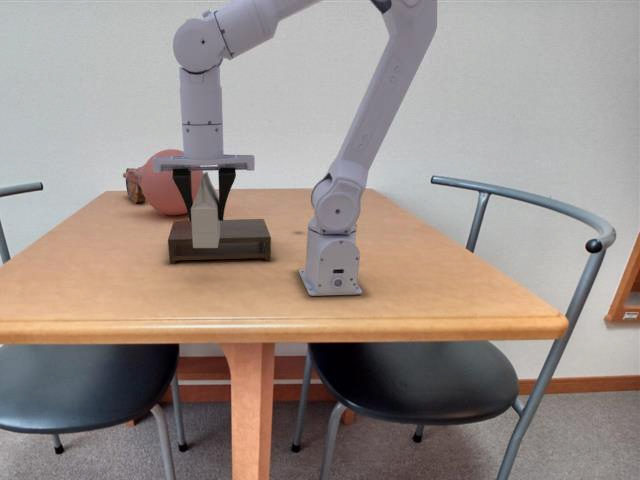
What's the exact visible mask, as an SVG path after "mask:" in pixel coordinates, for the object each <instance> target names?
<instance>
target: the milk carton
mask: <svg viewBox="0 0 640 480" xmlns="http://www.w3.org/2000/svg"><path fill="white" fill-rule="evenodd" d="M208 172H209V171H204V172H203V173H204V175H203V177H202V178H201V181H200V186H199V190H198V193H197V195H196V198H195V200H194V203H193V205H192V207H191V220H192V238H193V248H218V244H219V239H220V221H219V213H218V211H219V194H218V193H217V191H216V189H215V187H214V185H213V183H212V180H211V179H210V175H209V173H208Z"/></svg>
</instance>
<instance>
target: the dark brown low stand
mask: <svg viewBox="0 0 640 480" xmlns="http://www.w3.org/2000/svg"><path fill="white" fill-rule="evenodd" d="M168 234H169V235H168V237H167V247H168V259H169V264H171V265H172V264H176V262H177V261H194V260H195V261H198V260H199V261H201V260H204V261H205V260H234V259H235V260H236V259H237V260H239V259H242V260H243V259H263V260H264V262H270V261H271V254H272V253H271V252H272V249H271V248H272V237H271V233H270V231H269V228H268V226H267V223H266V220H265V219H264V218H242V219H241V218H239V219H238V218H237V219H236V218H235V219H223V221H220V239H219V244H218V248H193V238H192V221H191V222H190V221H189V220H173V222H172V225H171V227H170V232H169V233H168Z"/></svg>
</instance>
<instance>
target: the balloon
mask: <svg viewBox="0 0 640 480" xmlns="http://www.w3.org/2000/svg"><path fill="white" fill-rule="evenodd" d="M181 155H184V150H180V149H175V148H174V149H173V148H170V149H169V148H168V149H164V150H160V151H158V152H156V153H154V154H153V155H152V156H150V158H149V159H148V160H147V161H146V162H145V163H144V164H143V165H142V166H138V167H137V168H135V169H136V170H135V171H134V170H129V171H128V172H126V171H125V172H124V173H122V177H123V178H124V179H125V180H126V179H127V180H128V181H129V182H131V183H132V184H133V185H135V184H136V185H139V186H140V187H141V189H142V192H143V194H144V197H145V198H146V200H145V201H146V202H147V203H148V204H149V205H150V206H151V208H153V209H154V210H156V211H157V212H159V213H161V214H164V215H167V216H181V215H184V214H188V212H187V209H186V205H185V203H184V200H183V198H182V196H181V194H180V192H179V190H178V188H177V186H176V184H175V183H174V180H173V178H172V176H173V171H166V172H159V173H154V170H153V158H154V157H166V156H181ZM191 167H202V166H192V165H191ZM204 173H205V172H204V171H191V184H192V199H193V203H194V200H195V198H196V195H197V193H198V190H199V186H200V181H201V178H202V177H203V175H204Z"/></svg>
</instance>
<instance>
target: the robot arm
mask: <svg viewBox="0 0 640 480" xmlns="http://www.w3.org/2000/svg"><path fill="white" fill-rule="evenodd" d="M323 1H324V0H231V1H229V2H228V3H226V4H224V5H223V6H221V7H219V8H217V9H215V10H214V11H212V12H211V10H209V9H206V10H205V11H202V13H201V15H202V19H201V18H198V17H190V18H187V19H186V20H185V22H184V23H182V24H181V25H180V26H179V27H178V28H177V30H176V31H175V33H174V35H173V40H172V50H173V51H172V52H173V55H174V58H175V60H176V62H177V63H178V64H179V67H178V70H179V73H178V75H179V101H180V116H181V132H182V148H183V152H184V155H181V156H166V157H154V158H153V170H154V173H159V172H166V171H173V176H172V178H173V180H174V183H175V184H176V186H177V188H178V190H179V192H180V194H181V196H182V198H183V200H184V203H185V205H186V209H187V216H188V221H190V222H191V221H192V220H191V207H192V205H193V199H192V184H191V171H203V172H209V171H210V172H211V171H217V175H218V197H219V211H218V213H219V221H223V220H224V217H225V216H224V215H225V211H226V210H225V209H226V205H227V201H228V198H229V196H230V195H229V194H230V192H231V189H232V187H233V185H234V183H235V180H236V177H237V171H248V172H249V171H255V164H256V163H255V156H254V154H224V123H223V122H224V121H223V89H222V86H221V65H222V63H223V61H224V59H227V60H228V61H231V60H234V59H235V58H237V57H239V56H241V55H243V54H244V53H246V52H248V51H251V50H253V49H254V48H256V47H258V46H260V45H263V44H264V43H266V42H268V41H270V40H271V39H274V37H275V34H276V31H277V30H278V29H277V28H278V26H279V23H280V22H281V21H283V20H285V19H287V18H291V16H294V15H296V14H298V13H300V12H302V11H304V10H305V9H308V8H310V7H313V6H314V5H316V4H318V3H321V2H323ZM369 2H370V3H371V4H372V5H373V6H374V7H375V8H376V9H377V10H378V11H379V12H380V14H381V17H382V19H383V22H384V25H385V27H386V31H387V32H388V41H387V43H386V45H385V47H384V49H383V52H382V54H381V56H380V58H379V61H378V63H377V64H376V68H375V69H374V72H373V75H372V76H371V78H370V81H369V83H368V85H367V88H366V90H365V92H364V94H363V96H362V99H361V100H360V101H361V102H360V104H359V105H358V108H357V110H356V113H355V115H354V117H353V119H352V121H351V123H350V126H349V128H348V130H347V132H346V135H345V137H344V139H343V141H342V144H341V146H340V149H339V151H338V153H337V154H336V157H335V158H334V160H333V161H332V162H331V164H330V165H329V167H328V169H327V171H326V173H325V175H324V176H323V177H322V179H320V180H319V181H318V182H316V184H315V185H314V187H312V189H311V193H310V204H311V207H312V209H313V213H314V214H313V217H312V218H311V219H310V220H309V221H308V222H307V234H306V235H307V236H306V237H307V238H306V253H305V269H299V270H298V274H299V276H300V278H301V281H302V283H303V285H304V287H305V289H306V291H307V293H308V295H309V296H312V297H317V296H350V295H351V296H353V295H362V294H363V290H362V288H361V287H360V285H359V284H358V279H359V278H358V277H359V271H360V270H359V269H360V261H361V253H360V250H359V248H358V246H357V243H356V241H357V240H356V239H357V229H358V224H357V222H358V220H359V219H360V215H361V209H362V208H361V206H362V205H361V202H362V198H363V195H364V193H365V191H366V189H367V185H368V184H367V182H368V177H369V171H370V169H371V167H372V165H373V163H374V161H375V158H376V156H377V154H378V153H379V150H380V149H381V146H382V144H383V142H384V140H385V138H386V135H387V134H388V131H389V130H390V128H391V126H392V123H393V122H394V120H395V117H396V115H397V113H398V111H399V109H400V107H401V105H402V103H403V101H404V99H405V97H406V94H407V93H408V90H409V89H410V86H411V84H412V82H413V81H414V78H415V76H416V74H417V72H418V70H419V68H420V66H421V63H422V61H423V60H424V57H425V55H426V53H427V51H428V49H429V47H430V45H431V43H432V41H433V39H434V37H435V35H436V31H437V28H438V0H369ZM191 165H192V166H201V167H191Z"/></svg>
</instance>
